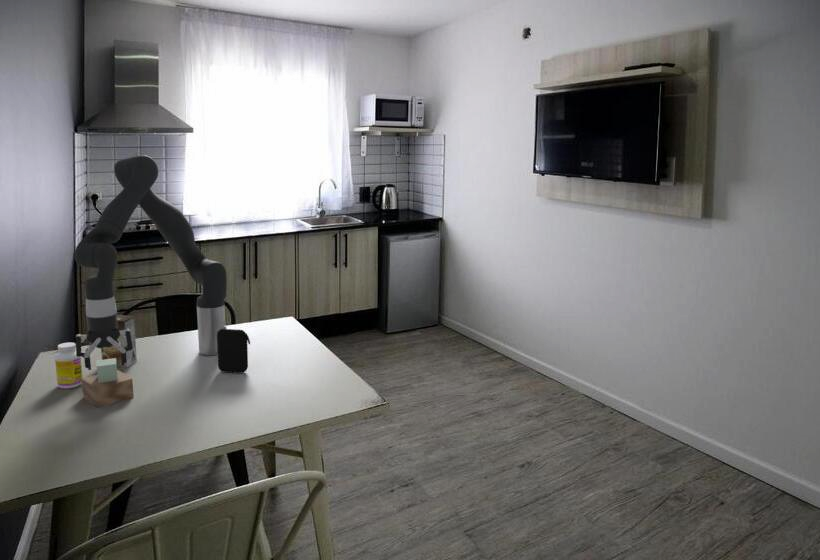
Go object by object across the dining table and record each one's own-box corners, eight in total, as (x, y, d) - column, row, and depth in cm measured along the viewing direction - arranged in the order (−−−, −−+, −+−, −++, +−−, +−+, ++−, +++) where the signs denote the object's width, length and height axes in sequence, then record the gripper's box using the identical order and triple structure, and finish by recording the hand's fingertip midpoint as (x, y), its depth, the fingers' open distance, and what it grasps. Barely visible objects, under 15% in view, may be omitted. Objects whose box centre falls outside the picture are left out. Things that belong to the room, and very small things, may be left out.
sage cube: (117, 374, 173) (115, 358, 171) (117, 380, 168) (116, 363, 167) (98, 376, 170) (96, 360, 169) (98, 382, 166) (96, 366, 165)
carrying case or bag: (252, 371, 193) (251, 328, 190) (249, 374, 190) (248, 331, 187) (220, 370, 193) (218, 327, 190) (217, 373, 190) (215, 330, 187)
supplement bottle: (77, 389, 175) (73, 348, 172) (54, 389, 174) (49, 348, 171) (86, 380, 182) (82, 341, 179) (63, 381, 181) (59, 341, 178)
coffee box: (101, 365, 194) (97, 319, 190) (112, 359, 200) (108, 313, 196) (127, 367, 193) (123, 320, 189) (138, 360, 199) (134, 315, 196)
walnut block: (118, 388, 177) (117, 369, 176) (133, 397, 171) (132, 378, 170) (83, 397, 170) (81, 378, 169) (97, 408, 164) (95, 388, 162)
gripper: (128, 306, 171) (132, 359, 175) (72, 311, 165) (78, 366, 168) (130, 313, 165) (134, 367, 169) (72, 319, 158) (77, 375, 162)
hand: (106, 366), depth 168 cm, fingers open, 8 cm apart
